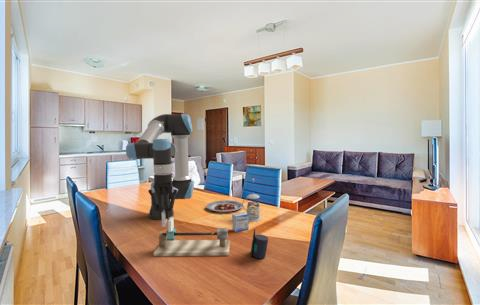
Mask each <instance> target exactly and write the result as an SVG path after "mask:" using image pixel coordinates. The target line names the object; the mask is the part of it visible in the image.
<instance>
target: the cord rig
mask: <svg viewBox="0 0 480 305" xmlns="http://www.w3.org/2000/svg"><path fill="white" fill-rule="evenodd" d="M174 236H176V237H178V236H179V237H181V236H184V237H186V236H193V237H194V236H216V239H182V240H181V239H179V240H178V239H177V240H176V239H174V241H167V233H166V232H161V233H159V235H158V247H157V248H155V250H154V251H153V257H186V256H187V257H190V256H191V257H201V256H203V257H205V256H206V257H210V256H211V257H212V256H215V257H217V256H221V257H222V256H227V257H228V256H229V255H230V245H231V240H230V239H228V236H229V235H228V228H226V227H225V228H221V227H219V228H217V230H216V232H215V231H212V232H211V231H210V232H176V233H174Z"/></svg>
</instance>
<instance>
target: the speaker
mask: <svg viewBox="0 0 480 305" xmlns="http://www.w3.org/2000/svg"><path fill="white" fill-rule="evenodd" d="M268 242H269V237H268V236H267V235H264V234H256V229H255V228H254V229H253V235H252V242H251V247H250V248H251V249H250V258H253V257H254V258H256V259H260V260H262V259H266V257H267V256H266V255H267V254H266V253H267V250H268Z"/></svg>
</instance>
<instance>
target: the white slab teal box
mask: <svg viewBox="0 0 480 305" xmlns="http://www.w3.org/2000/svg"><path fill="white" fill-rule="evenodd" d="M174 219H175V217H173V216H172V217H169V218H168V219H167V231H166V232H165V233H167V236H166V240H167V241H174V240H176V237H177V236H174V233H177V228H175V224H174V223H175V221H174Z"/></svg>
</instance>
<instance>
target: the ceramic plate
mask: <svg viewBox="0 0 480 305" xmlns="http://www.w3.org/2000/svg"><path fill="white" fill-rule="evenodd" d="M242 203H243V202H241V201H237V200H230V199H229V200H227V199H226V200H225V199H224V200H223V199H222V200H216V201H213V202H210V203H208V204H207V205H206V208H207V209H208V210H210V211H214V212H220V213H228V212H234V211H237V210H241V209H243V208H244V207H243V206H244V205H243V206H242Z"/></svg>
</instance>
